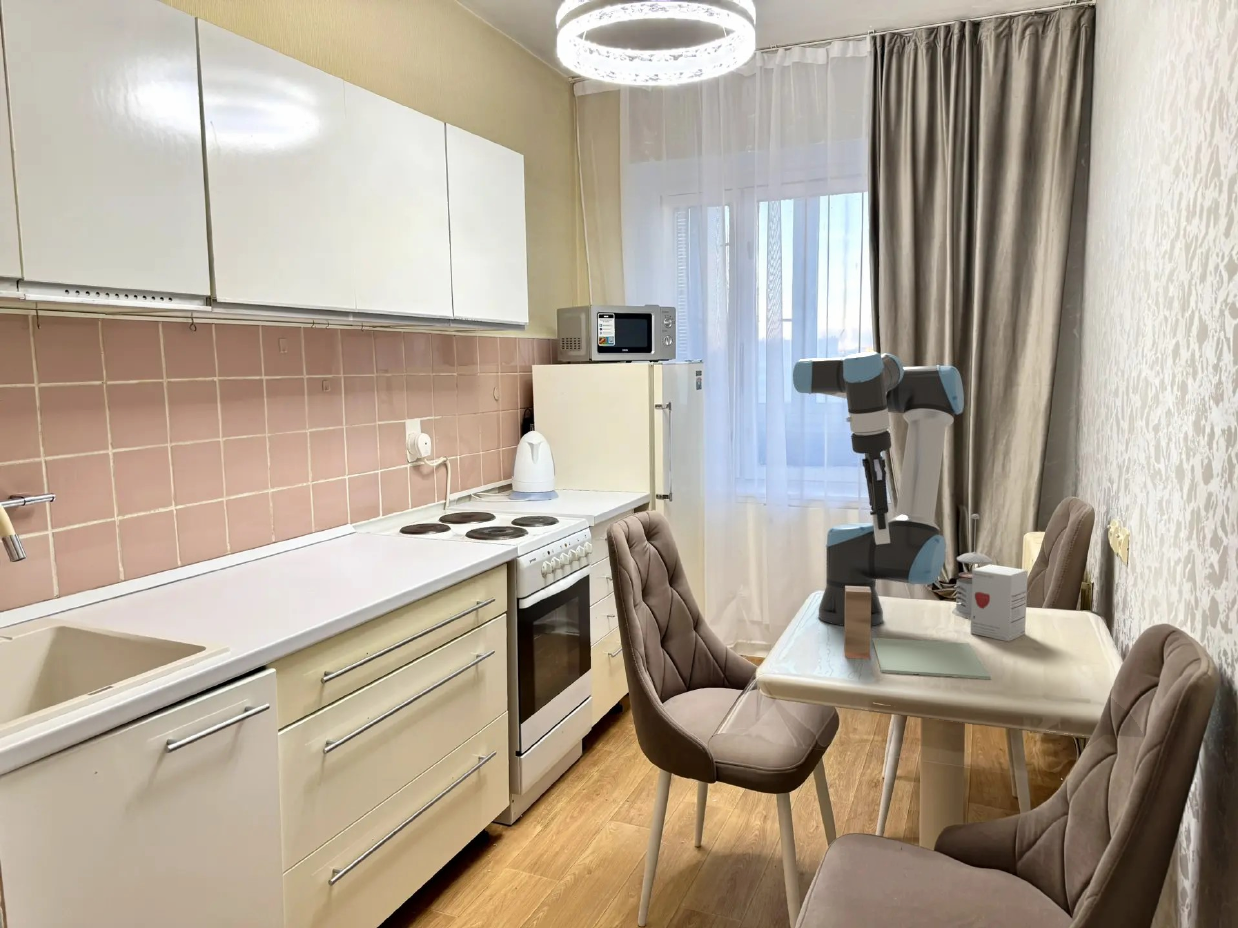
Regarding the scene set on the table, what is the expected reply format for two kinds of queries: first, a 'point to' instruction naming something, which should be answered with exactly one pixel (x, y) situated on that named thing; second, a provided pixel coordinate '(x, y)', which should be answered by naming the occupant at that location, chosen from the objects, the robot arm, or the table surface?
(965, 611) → the french press
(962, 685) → the table surface
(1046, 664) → the table surface
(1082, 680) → the table surface
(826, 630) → the table surface
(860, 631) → the walnut block
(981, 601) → the supplement box
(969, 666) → the mat
